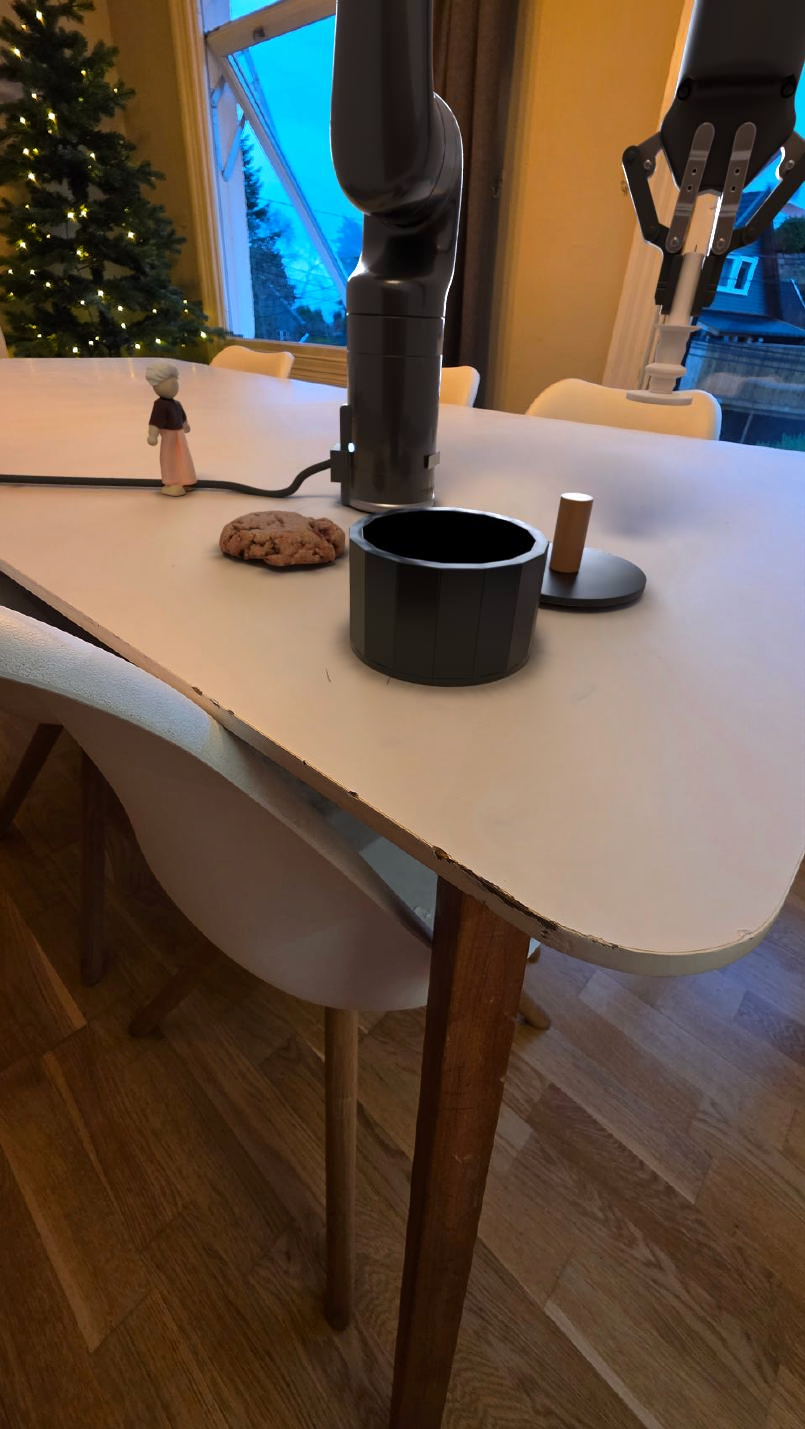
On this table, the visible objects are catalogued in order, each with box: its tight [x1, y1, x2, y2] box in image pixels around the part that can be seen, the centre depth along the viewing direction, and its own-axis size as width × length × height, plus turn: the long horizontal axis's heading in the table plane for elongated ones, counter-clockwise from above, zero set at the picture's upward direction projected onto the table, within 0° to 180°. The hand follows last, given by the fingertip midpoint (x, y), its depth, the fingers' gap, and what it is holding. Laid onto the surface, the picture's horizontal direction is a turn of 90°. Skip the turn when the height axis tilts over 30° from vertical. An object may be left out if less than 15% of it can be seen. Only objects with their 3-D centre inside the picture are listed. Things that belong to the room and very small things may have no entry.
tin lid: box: [540, 492, 648, 608], centre depth 48 cm, size 13×13×7 cm
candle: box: [625, 244, 706, 407], centre depth 49 cm, size 5×5×10 cm
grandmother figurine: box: [145, 358, 198, 497], centre depth 66 cm, size 8×4×13 cm, turn 179°
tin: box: [348, 506, 550, 687], centre depth 39 cm, size 12×12×7 cm
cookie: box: [218, 510, 346, 567], centre depth 53 cm, size 10×11×3 cm
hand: (679, 314), depth 48 cm, fingers closed on candle
